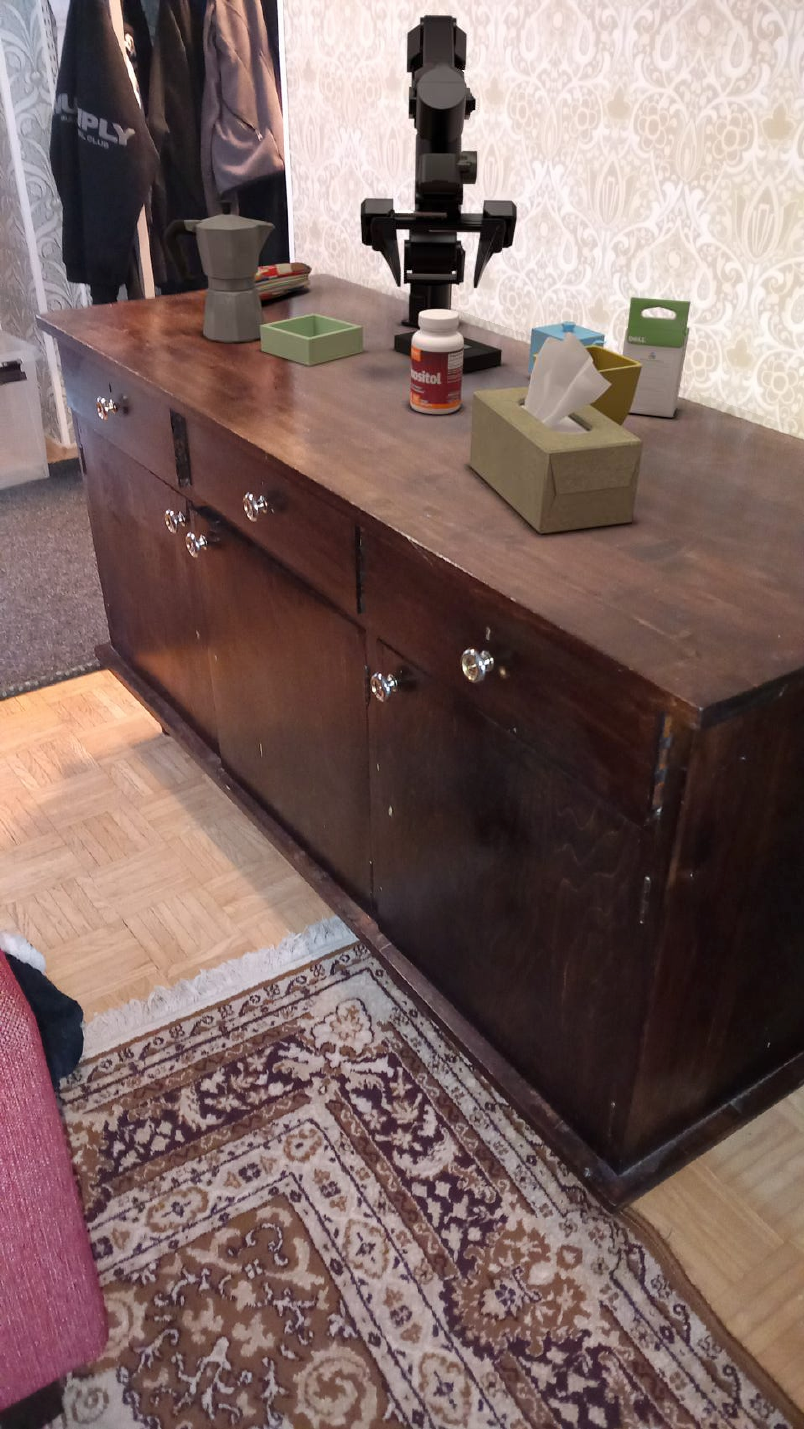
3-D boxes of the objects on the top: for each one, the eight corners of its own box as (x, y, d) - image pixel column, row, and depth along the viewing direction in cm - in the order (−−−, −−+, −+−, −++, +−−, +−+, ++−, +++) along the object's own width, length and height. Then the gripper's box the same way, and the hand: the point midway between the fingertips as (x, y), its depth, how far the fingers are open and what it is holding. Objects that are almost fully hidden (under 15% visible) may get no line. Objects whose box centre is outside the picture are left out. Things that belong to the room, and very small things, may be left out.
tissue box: (634, 524, 102) (659, 355, 93) (540, 536, 99) (556, 363, 90) (551, 456, 117) (565, 305, 108) (467, 465, 114) (475, 311, 105)
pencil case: (198, 301, 173) (195, 268, 170) (293, 284, 184) (292, 253, 181) (238, 314, 166) (235, 280, 164) (334, 295, 178) (334, 263, 175)
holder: (315, 337, 156) (314, 312, 154) (363, 351, 150) (363, 326, 148) (261, 350, 149) (259, 325, 148) (309, 366, 144) (308, 339, 142)
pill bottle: (399, 408, 130) (400, 313, 123) (431, 396, 134) (434, 304, 127) (439, 419, 126) (442, 322, 120) (471, 407, 130) (475, 313, 124)
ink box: (676, 409, 131) (695, 294, 123) (672, 419, 127) (691, 301, 120) (620, 402, 132) (634, 289, 125) (614, 412, 129) (629, 296, 122)
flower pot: (568, 457, 116) (577, 373, 111) (524, 432, 123) (531, 352, 118) (633, 445, 120) (644, 364, 115) (587, 421, 126) (596, 344, 121)
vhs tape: (435, 341, 155) (435, 327, 154) (501, 365, 145) (502, 350, 144) (394, 349, 151) (394, 335, 150) (459, 374, 141) (460, 359, 140)
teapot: (616, 392, 136) (624, 331, 132) (580, 400, 133) (587, 338, 129) (555, 368, 144) (561, 310, 140) (520, 375, 141) (524, 316, 137)
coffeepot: (276, 324, 161) (269, 193, 151) (284, 341, 154) (277, 204, 144) (172, 329, 158) (158, 195, 148) (175, 346, 151) (161, 206, 141)
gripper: (360, 121, 124) (357, 242, 120) (521, 124, 124) (522, 244, 121) (363, 187, 134) (360, 299, 131) (511, 189, 135) (512, 301, 131)
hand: (437, 285), depth 128 cm, fingers open, 9 cm apart
